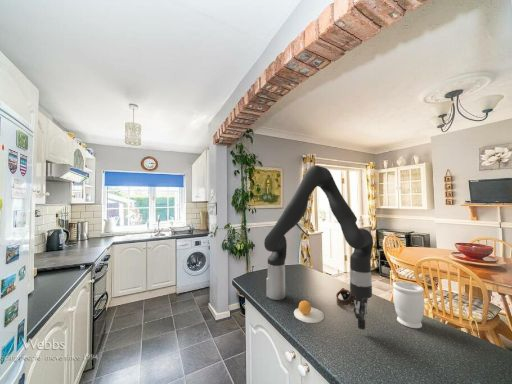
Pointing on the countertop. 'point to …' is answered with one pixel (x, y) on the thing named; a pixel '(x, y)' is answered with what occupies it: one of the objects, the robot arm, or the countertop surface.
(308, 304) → the ball
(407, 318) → the jar
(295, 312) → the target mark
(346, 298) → the pottery mug
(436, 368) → the countertop surface
